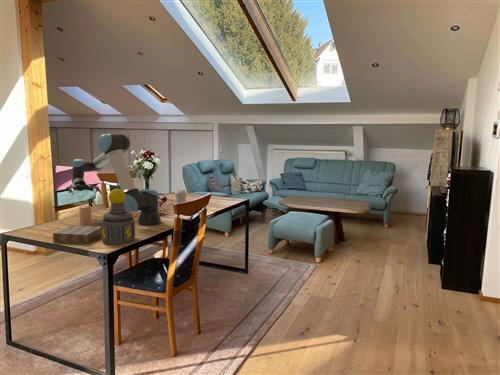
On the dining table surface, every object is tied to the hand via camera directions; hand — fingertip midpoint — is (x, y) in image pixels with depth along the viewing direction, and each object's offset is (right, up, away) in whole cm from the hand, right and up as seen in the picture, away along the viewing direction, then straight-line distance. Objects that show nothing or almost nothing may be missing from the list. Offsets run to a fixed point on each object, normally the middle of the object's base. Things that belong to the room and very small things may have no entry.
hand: (84, 192), depth 245 cm
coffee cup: (+51, -14, +62) cm, 82 cm away
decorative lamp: (+32, -27, -27) cm, 50 cm away
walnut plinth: (+8, -26, -25) cm, 37 cm away
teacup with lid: (+33, -17, +42) cm, 56 cm away
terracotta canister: (+3, -23, -4) cm, 23 cm away
